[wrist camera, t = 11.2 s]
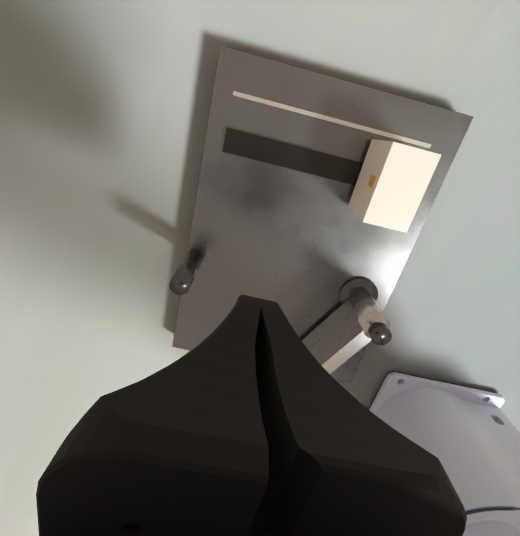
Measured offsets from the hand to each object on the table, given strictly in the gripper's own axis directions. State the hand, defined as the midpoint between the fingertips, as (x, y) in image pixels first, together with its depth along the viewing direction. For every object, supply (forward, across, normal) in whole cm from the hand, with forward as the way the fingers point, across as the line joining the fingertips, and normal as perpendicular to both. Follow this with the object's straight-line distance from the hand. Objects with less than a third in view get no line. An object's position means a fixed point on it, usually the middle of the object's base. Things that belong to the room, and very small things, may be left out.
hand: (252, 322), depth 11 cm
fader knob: (+8, -5, -5) cm, 11 cm away
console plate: (+10, -2, 0) cm, 10 cm away
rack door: (+8, -5, +6) cm, 11 cm away
